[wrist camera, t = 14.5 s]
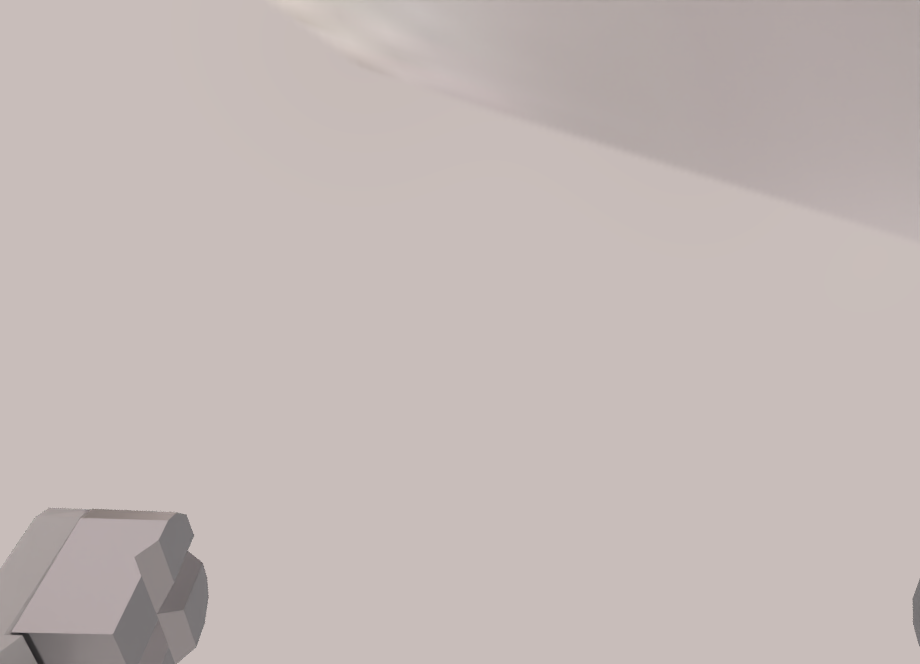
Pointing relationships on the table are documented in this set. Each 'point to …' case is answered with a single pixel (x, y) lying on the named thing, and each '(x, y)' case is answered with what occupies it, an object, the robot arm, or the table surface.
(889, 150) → the table surface
